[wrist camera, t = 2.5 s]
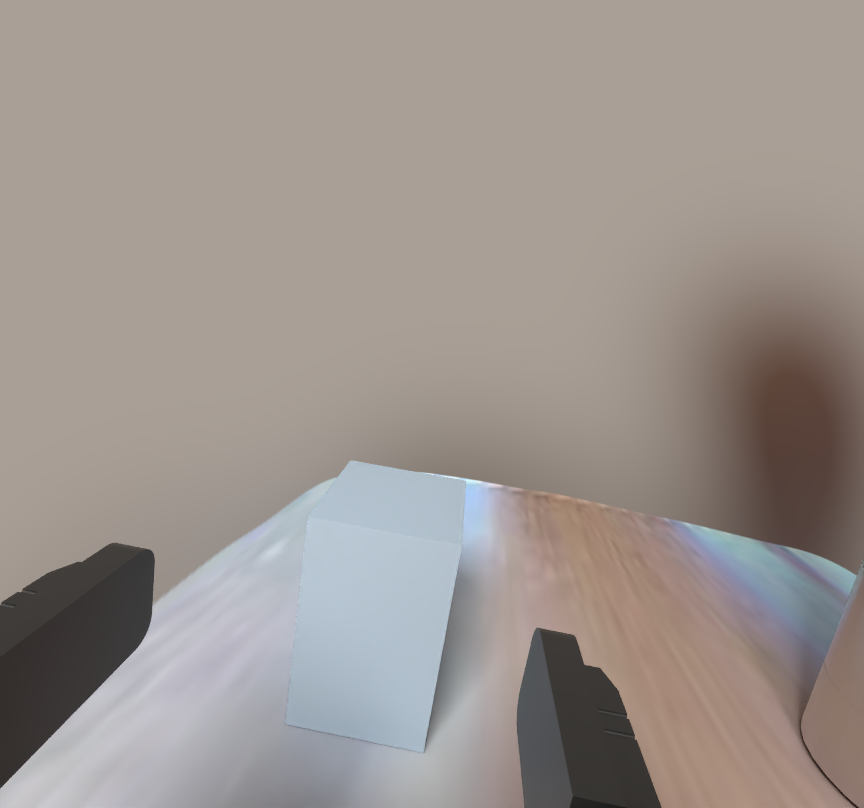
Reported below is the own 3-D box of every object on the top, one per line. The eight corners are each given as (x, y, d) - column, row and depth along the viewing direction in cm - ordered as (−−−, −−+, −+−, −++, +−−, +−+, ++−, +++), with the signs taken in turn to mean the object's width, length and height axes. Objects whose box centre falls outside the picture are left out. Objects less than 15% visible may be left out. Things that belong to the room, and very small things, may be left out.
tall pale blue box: (329, 623, 29) (350, 460, 27) (436, 644, 29) (465, 481, 27) (285, 724, 22) (307, 516, 20) (423, 753, 22) (462, 545, 20)
